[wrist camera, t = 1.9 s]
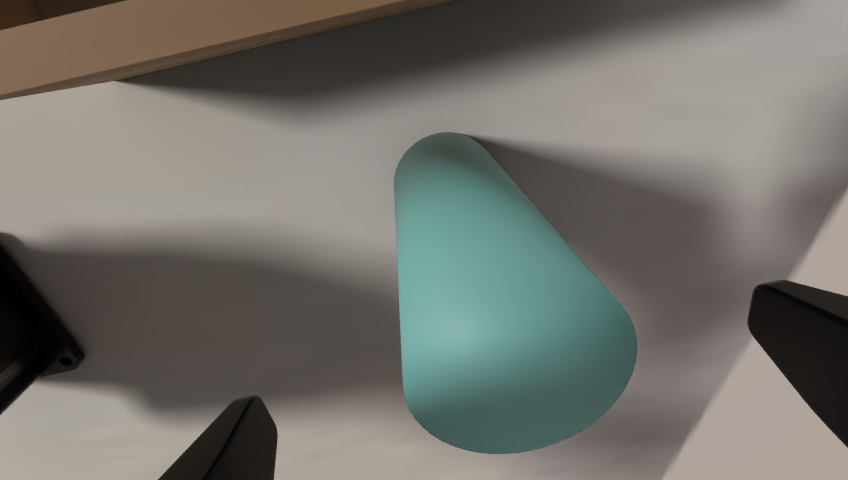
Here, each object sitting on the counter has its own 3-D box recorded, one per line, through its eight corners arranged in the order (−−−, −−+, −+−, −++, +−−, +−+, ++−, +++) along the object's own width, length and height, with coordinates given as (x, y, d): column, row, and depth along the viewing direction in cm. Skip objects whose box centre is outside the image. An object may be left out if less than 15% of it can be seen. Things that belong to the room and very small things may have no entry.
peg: (502, 219, 17) (633, 428, 8) (406, 240, 17) (428, 472, 8) (489, 121, 15) (640, 248, 6) (382, 145, 15) (375, 305, 6)
